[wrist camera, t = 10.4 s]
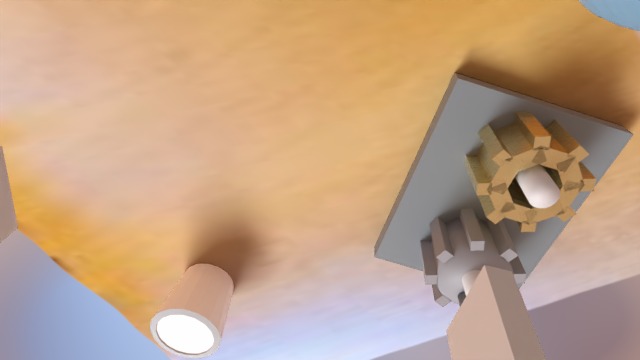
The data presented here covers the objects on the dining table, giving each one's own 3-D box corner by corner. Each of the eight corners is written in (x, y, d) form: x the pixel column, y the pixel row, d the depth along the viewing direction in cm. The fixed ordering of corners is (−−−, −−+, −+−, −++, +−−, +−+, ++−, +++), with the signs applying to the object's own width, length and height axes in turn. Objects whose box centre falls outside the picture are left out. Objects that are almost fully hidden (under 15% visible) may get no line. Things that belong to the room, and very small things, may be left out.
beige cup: (239, 309, 48) (221, 364, 42) (180, 301, 49) (153, 354, 43) (239, 263, 45) (219, 315, 39) (174, 254, 45) (145, 304, 39)
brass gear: (494, 100, 32) (512, 123, 28) (588, 130, 32) (618, 157, 29) (450, 183, 36) (460, 213, 32) (535, 208, 36) (555, 242, 32)
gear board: (454, 72, 33) (475, 107, 26) (623, 126, 34) (683, 173, 27) (374, 246, 42) (375, 304, 36) (508, 286, 43) (533, 349, 36)
